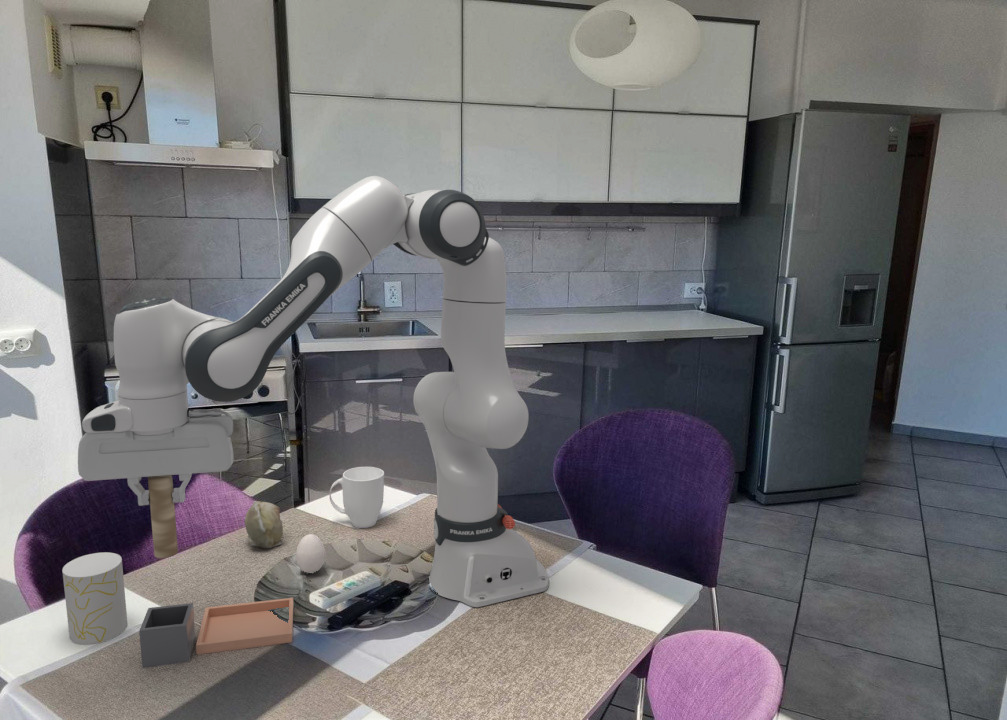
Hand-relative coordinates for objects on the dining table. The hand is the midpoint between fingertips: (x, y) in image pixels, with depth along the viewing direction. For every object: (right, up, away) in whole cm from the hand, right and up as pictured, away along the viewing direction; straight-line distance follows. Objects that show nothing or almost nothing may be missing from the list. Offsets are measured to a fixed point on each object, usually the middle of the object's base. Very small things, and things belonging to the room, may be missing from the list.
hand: (162, 502), depth 105 cm
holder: (-1, -24, +5) cm, 25 cm away
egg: (+14, -20, +31) cm, 39 cm away
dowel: (0, -8, +2) cm, 8 cm away
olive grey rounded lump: (+1, -17, +43) cm, 46 cm away
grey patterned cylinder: (-15, -23, +10) cm, 29 cm away
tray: (+9, -23, +11) cm, 27 cm away
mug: (+18, -15, +52) cm, 58 cm away
